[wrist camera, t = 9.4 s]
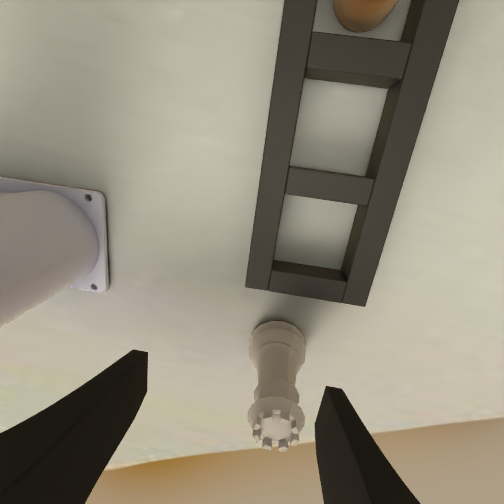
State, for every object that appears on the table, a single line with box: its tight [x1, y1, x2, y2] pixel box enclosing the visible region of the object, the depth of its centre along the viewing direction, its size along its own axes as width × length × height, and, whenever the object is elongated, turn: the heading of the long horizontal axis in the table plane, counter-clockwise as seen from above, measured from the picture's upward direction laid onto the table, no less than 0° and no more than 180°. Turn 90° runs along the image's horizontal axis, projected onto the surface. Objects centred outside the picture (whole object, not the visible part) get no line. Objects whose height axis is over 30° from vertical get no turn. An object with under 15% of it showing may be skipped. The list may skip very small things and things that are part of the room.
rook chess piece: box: [248, 321, 306, 452], centre depth 18 cm, size 4×4×8 cm
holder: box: [245, 0, 459, 307], centre depth 16 cm, size 8×21×2 cm, turn 172°
